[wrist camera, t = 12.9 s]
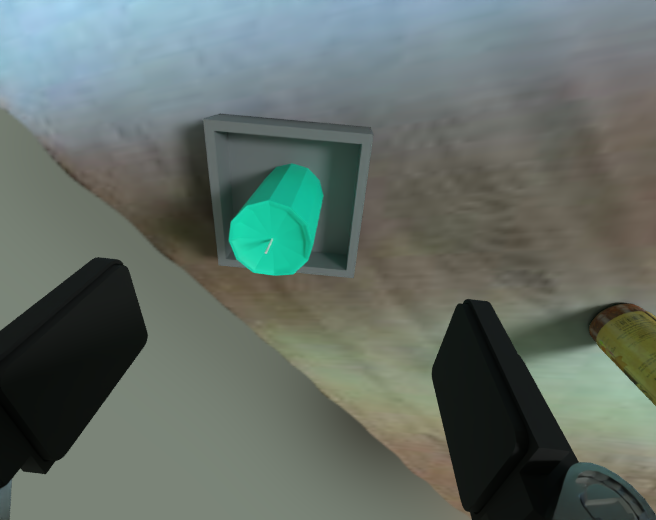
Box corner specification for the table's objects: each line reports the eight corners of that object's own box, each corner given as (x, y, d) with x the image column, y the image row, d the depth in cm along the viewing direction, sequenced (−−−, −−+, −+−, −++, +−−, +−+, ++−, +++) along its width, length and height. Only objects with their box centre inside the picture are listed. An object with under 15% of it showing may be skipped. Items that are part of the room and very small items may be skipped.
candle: (252, 203, 33) (207, 264, 22) (279, 150, 30) (242, 191, 19) (304, 232, 34) (285, 303, 23) (335, 184, 31) (328, 240, 21)
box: (220, 113, 29) (203, 119, 26) (370, 127, 29) (373, 134, 26) (231, 246, 36) (218, 265, 33) (353, 258, 36) (353, 278, 32)
